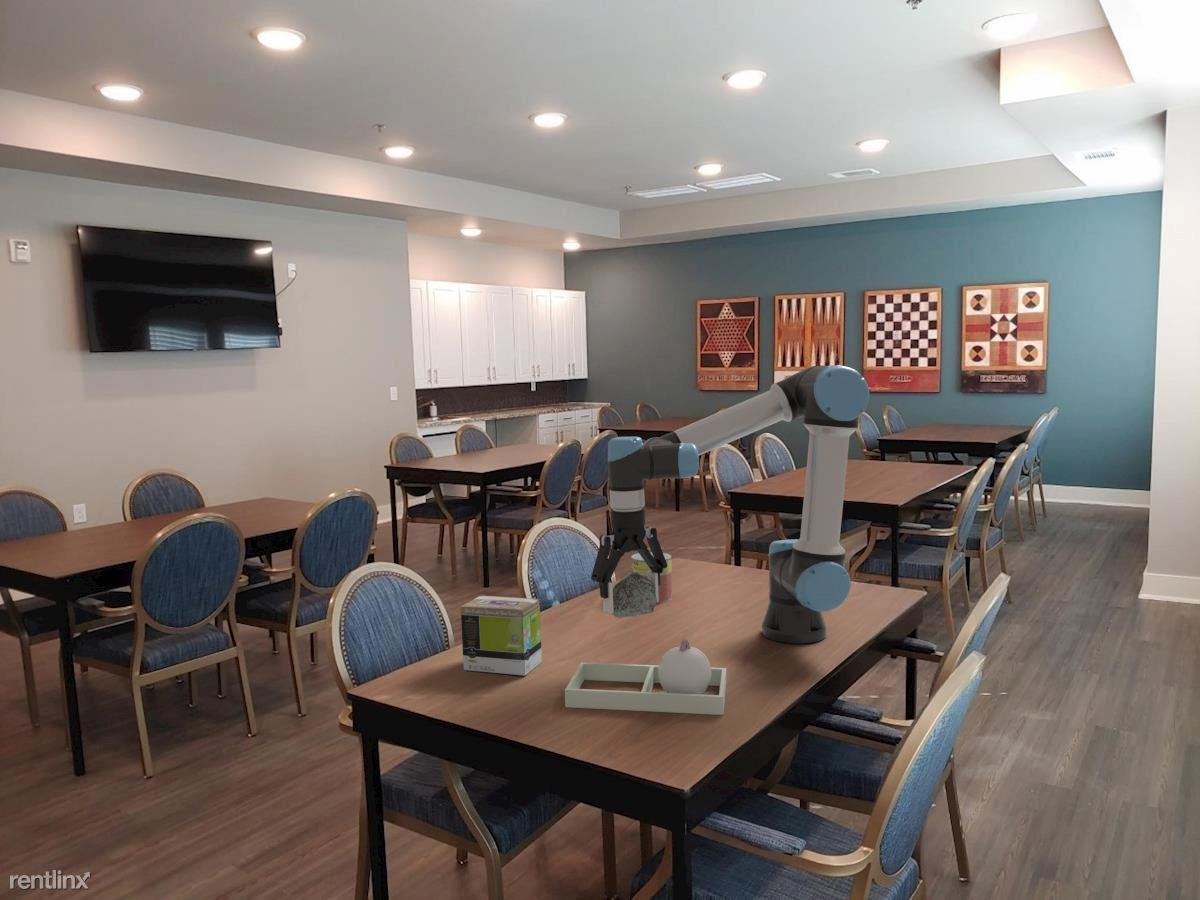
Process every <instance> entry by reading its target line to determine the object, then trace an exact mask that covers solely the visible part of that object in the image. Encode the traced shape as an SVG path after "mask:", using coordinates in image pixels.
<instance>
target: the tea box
mask: <svg viewBox="0 0 1200 900" xmlns="http://www.w3.org/2000/svg"><path fill="white" fill-rule="evenodd" d="M540 603H541V602H540V598H535V597H534V598H528V597H513V596H512V597H510V596H492V595H479V596H477V597H476V598H473V599H472V600H469V601H468V602H466V603H464V604H463V605H461V606H460V622H461V623H460V624H461V625H460V626H461V644H462V661H463V662H462V663H463V664H462V665H463V670H464V671H470V672H471V671H472V672H482V673H491V674H492V673H493V674H504V675H512V676H513V675H514V676H515V675H516V676H525V677H526V675H528V674H529V673H531V672H532V671H533V670H534V669H535V668H537V667H538V666H539V665H540V664H541V663H542V661H543V660H542V659H543V657H542V655H543V654H542V653H543V652H542V628H541V606H540Z"/></svg>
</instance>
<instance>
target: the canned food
mask: <svg viewBox="0 0 1200 900" xmlns="http://www.w3.org/2000/svg"><path fill="white" fill-rule="evenodd" d="M649 552H650V553H651V555H652V556H653V554H652V552H651V551H649ZM663 554H664V557H665V560H666V562H667V567H666V568H663V572H662V573H660V586H658V595H659V602H657V603H656V604H661V603H667V602H670V601H671V600H672V599H673V593H672V592H673V591H672V588H673V587H672V583H673V582H672V580H673V579H672V554H670V553H666V552H663ZM630 557H631V572H636V573H638V574H640V575H642V576H644V577H645V578H647V579H648V572H649V571H651V570H650V568H649V567H648V565H647V564H646V562H645V561H644V560H643V558H642V557H641V555H640V554H639V552H637V553H634V554H632V555H631V556H630ZM651 572H652V571H651Z"/></svg>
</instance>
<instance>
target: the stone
mask: <svg viewBox="0 0 1200 900" xmlns="http://www.w3.org/2000/svg"><path fill="white" fill-rule="evenodd" d="M657 604H658V603H657V598H656V594H655V589H654V588H653V586H652V583H651V581H650V580H649V579H647V578H645V577H644V576H642V575H640V574H638V573H636V572H632V571H630V572H629V573H628V574H626V575H625V576H624V577H623V578H621V579H620V580H619V581H617V582H616V583H615V584H614V587H613V610H614V613H612V614H611V615H612V616H614V617H615V618H617V619H623V618H625V617H626V618H629V617H636V616H644V615H647V614H648V615H649V614H651V613H653V612H654V611H655V607H656V606H657Z"/></svg>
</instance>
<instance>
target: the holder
mask: <svg viewBox="0 0 1200 900" xmlns="http://www.w3.org/2000/svg"><path fill="white" fill-rule="evenodd" d="M658 670H659V664H657V665H655V664H634V663H633V664H629V663H627V664H626V663H611V662H610V663H605V662H582V661H581V662H580V663H579V665H578V667H577V668H576V670H575V672H574V674H573V675H572V677H571V679H570V680H569V682H568V684H567V685H566V687H565V689H564V705H565V708H571V709H572V708H573V709H574V708H575V709H576V708H578V709H592V710H593V709H594V710H614V711H616V710H617V711H631V712H633V711H636V712H653V713H655V712H657V713H676V714H678V713H679V714H692V715H693V714H695V715H697V714H698V715H711V716H712V715H714V716H715V715H716V716H724V710H725V704H726V703H725V700H726V693H727V668H726V667H711V680H710V683H709V686H715V687H717V686H718V687H719V690H718V694H681V693H667V692H657V691H655V692H653V688H654V684H661V683H660V680H659V675H658ZM584 681H601V682H602V681H604V682H621V683H622V682H625V683H627V682H628V683H643V685H642V688H641V691H635V690H633V691H632V690H613V689H612V690H610V689H609V690H608V689H591V688H590V689H588V688H581V687H582V686H583V683H584Z"/></svg>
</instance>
